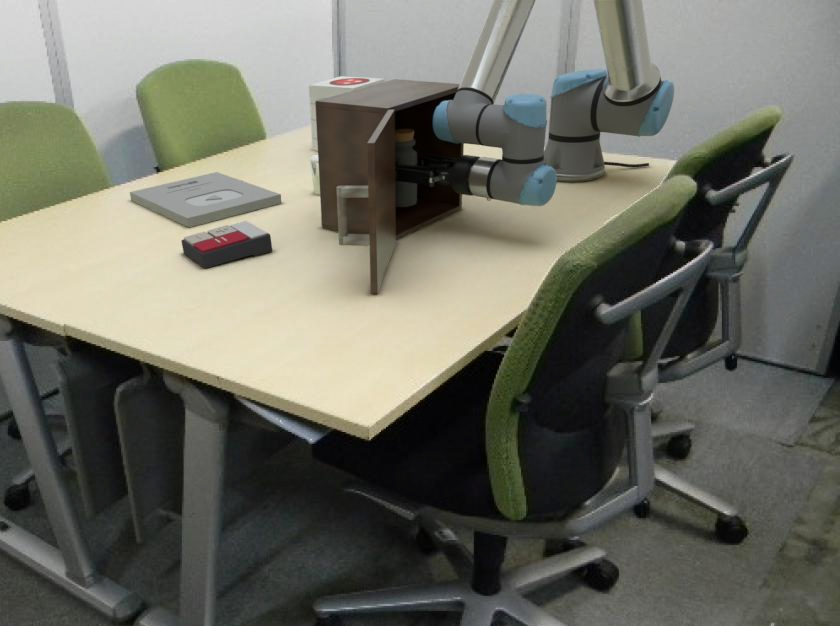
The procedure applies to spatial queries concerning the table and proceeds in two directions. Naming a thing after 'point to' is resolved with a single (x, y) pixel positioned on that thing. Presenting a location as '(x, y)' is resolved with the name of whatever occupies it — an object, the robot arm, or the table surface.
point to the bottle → (405, 156)
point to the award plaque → (204, 198)
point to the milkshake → (315, 173)
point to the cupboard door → (375, 201)
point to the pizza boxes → (332, 89)
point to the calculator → (226, 244)
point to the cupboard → (347, 150)
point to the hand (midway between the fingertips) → (383, 162)
